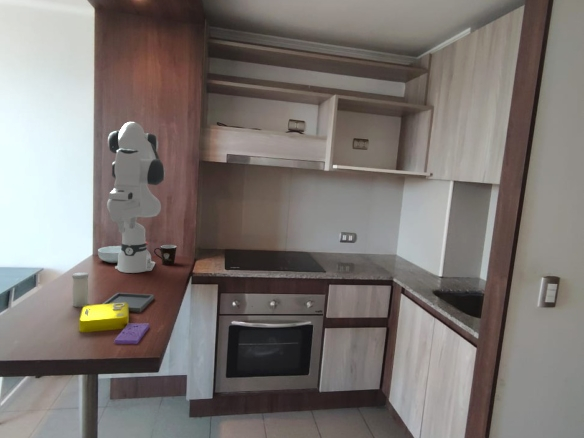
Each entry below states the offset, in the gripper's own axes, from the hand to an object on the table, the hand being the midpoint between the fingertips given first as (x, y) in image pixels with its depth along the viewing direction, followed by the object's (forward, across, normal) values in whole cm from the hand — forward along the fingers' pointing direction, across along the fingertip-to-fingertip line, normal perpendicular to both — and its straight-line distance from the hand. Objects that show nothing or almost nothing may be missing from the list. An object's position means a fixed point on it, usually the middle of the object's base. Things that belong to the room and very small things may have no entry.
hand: (127, 230), depth 138 cm
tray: (+31, -6, -2) cm, 31 cm away
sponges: (+32, +20, +10) cm, 39 cm away
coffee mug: (+31, -70, -6) cm, 76 cm away
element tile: (+32, +11, -3) cm, 34 cm away
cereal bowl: (+31, -68, -34) cm, 82 cm away
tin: (+31, -3, -19) cm, 36 cm away
